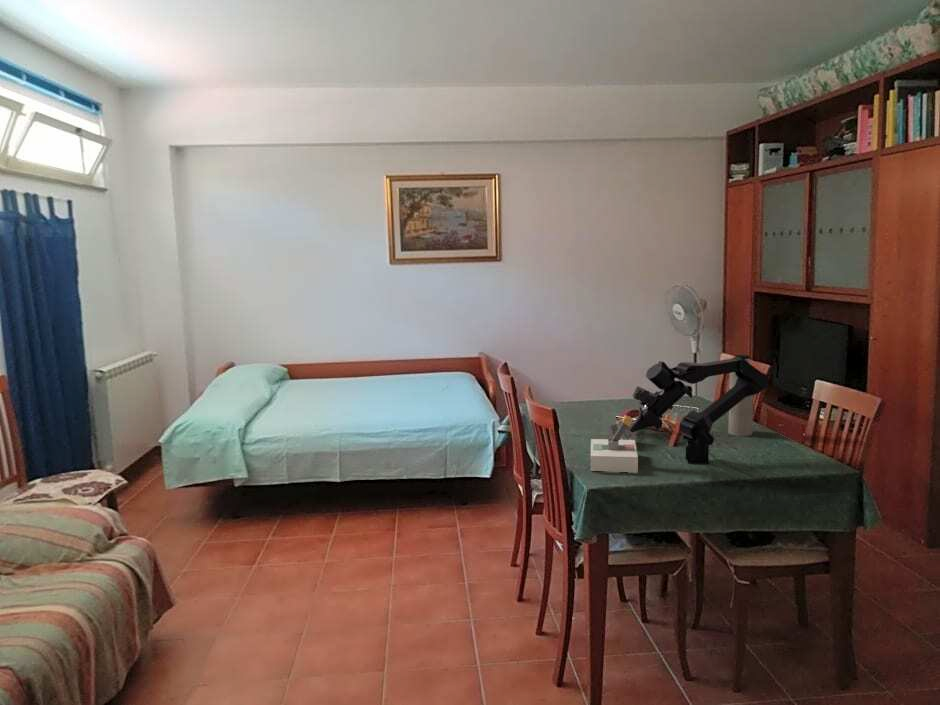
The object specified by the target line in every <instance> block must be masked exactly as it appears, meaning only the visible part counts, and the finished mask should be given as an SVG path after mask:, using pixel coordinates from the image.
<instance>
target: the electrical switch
mask: <svg viewBox="0 0 940 705" xmlns="http://www.w3.org/2000/svg"><path fill="white" fill-rule="evenodd" d="M628 416H629V415H628ZM629 417H631V416H629ZM621 424H622V419H619V420H618V421H615V422H613V423H612V424H610V429H611V432H612V438H613V437H614V435H615V433H616V432H617V430H618V429H619V427H620V425H621ZM633 424H634V422H632V423H631V425H630V426H627V428H626V430H625V431H624V433H623V435H622V436H621V438H620V439H619V440H635V444H636V443H637V442H638V439H637V435H636V432H631V431H630V428H631V427H632V425H633Z"/></svg>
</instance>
